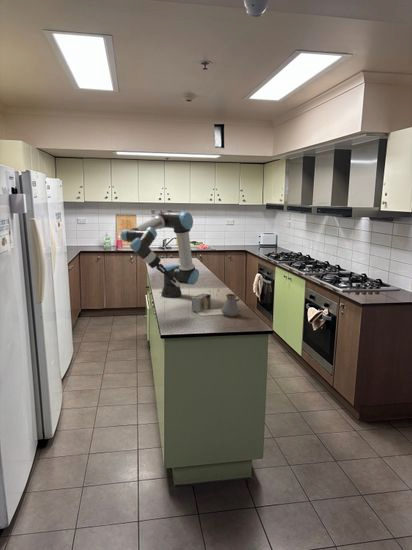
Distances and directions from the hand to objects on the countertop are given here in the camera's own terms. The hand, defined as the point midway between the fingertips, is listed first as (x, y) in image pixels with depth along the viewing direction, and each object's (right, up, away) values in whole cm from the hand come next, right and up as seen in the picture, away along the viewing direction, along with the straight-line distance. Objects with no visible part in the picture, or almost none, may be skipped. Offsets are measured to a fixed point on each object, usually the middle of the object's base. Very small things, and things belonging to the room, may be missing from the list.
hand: (178, 285), depth 245 cm
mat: (+20, -18, +11) cm, 29 cm away
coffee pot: (+33, -20, +2) cm, 39 cm away
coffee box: (+10, -13, +9) cm, 19 cm away
